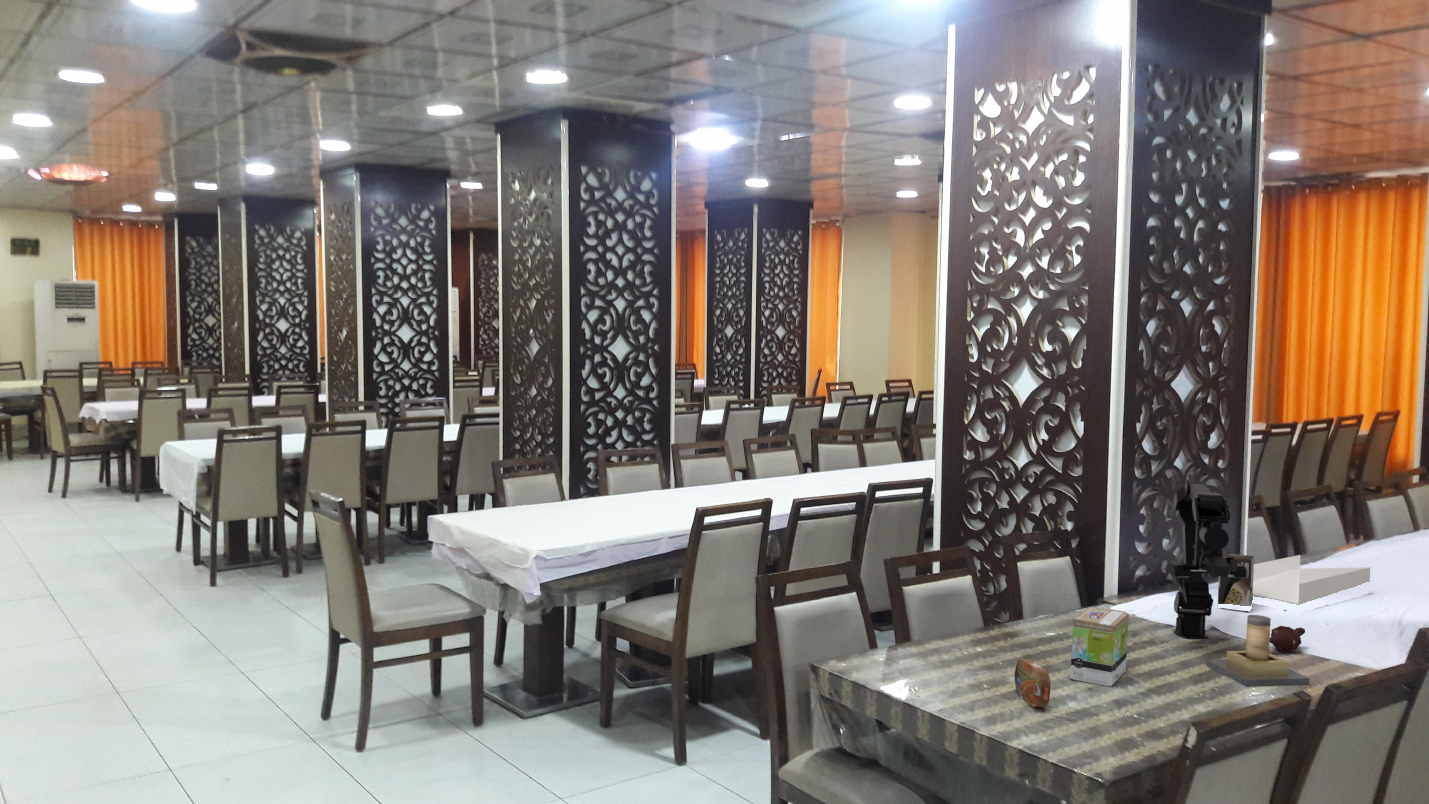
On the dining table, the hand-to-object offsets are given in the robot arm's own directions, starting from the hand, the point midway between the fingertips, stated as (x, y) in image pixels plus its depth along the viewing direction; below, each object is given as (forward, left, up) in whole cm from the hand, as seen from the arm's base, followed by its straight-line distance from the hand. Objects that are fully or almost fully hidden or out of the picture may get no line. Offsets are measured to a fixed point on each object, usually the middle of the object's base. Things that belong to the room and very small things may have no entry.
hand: (1204, 602), depth 280 cm
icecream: (-22, +1, -13) cm, 26 cm away
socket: (-2, +19, -13) cm, 23 cm away
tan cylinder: (-2, +19, -12) cm, 22 cm away
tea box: (+37, +16, -13) cm, 42 cm away
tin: (+61, +32, -13) cm, 70 cm away
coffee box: (-37, -42, -13) cm, 58 cm away
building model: (-68, -55, -14) cm, 88 cm away
